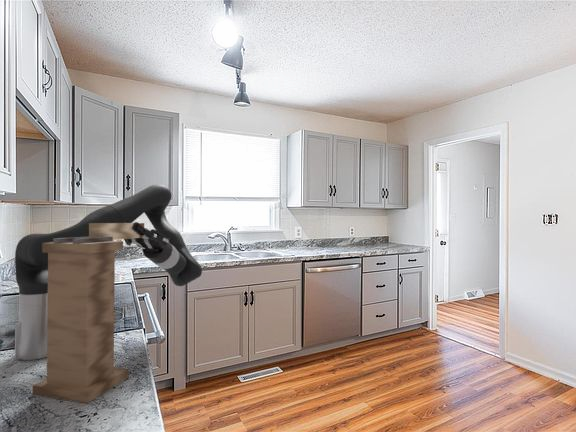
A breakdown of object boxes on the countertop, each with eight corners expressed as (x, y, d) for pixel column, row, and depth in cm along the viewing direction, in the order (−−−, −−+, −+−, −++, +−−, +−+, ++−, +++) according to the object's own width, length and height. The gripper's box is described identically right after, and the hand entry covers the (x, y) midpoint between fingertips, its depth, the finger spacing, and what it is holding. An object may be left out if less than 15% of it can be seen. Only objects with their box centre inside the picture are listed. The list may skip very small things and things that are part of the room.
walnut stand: (79, 370, 84) (80, 236, 84) (128, 376, 80) (129, 236, 81) (32, 395, 72) (34, 238, 73) (87, 403, 69) (89, 239, 69)
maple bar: (134, 237, 95) (135, 223, 95) (144, 237, 95) (144, 223, 95) (88, 240, 80) (89, 223, 80) (99, 240, 79) (99, 223, 79)
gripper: (145, 241, 109) (111, 213, 94) (185, 242, 105) (156, 212, 91) (137, 263, 105) (100, 237, 90) (178, 264, 101) (146, 237, 87)
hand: (128, 225), depth 91 cm, fingers closed on maple bar, 3 cm apart
